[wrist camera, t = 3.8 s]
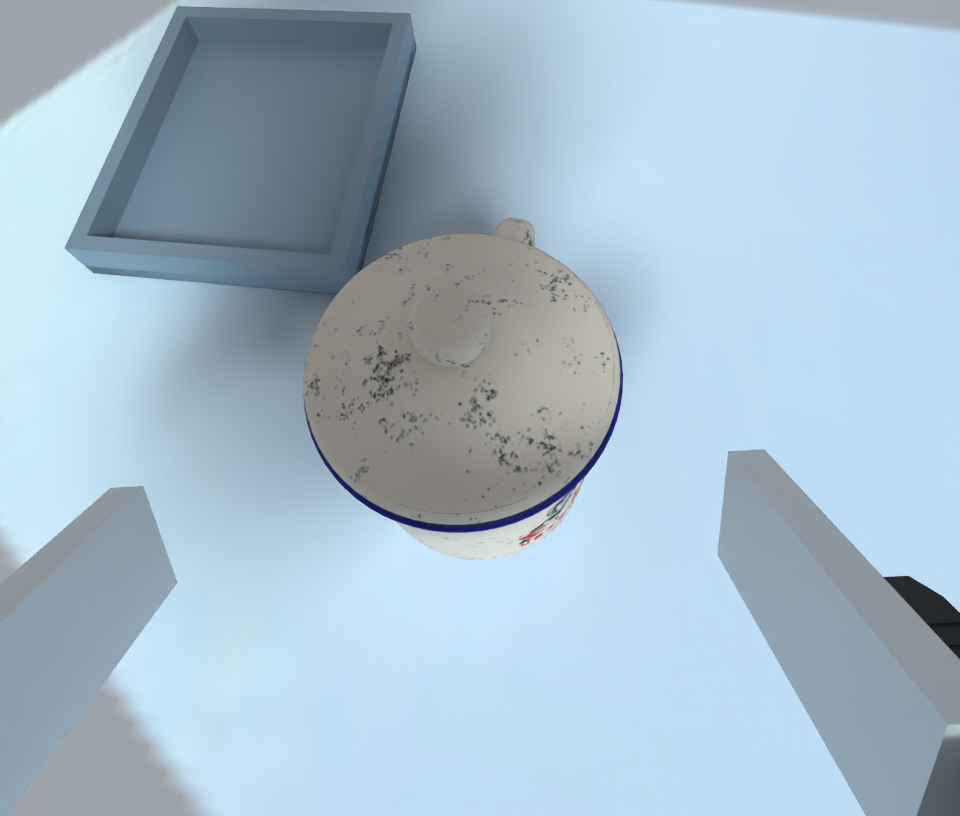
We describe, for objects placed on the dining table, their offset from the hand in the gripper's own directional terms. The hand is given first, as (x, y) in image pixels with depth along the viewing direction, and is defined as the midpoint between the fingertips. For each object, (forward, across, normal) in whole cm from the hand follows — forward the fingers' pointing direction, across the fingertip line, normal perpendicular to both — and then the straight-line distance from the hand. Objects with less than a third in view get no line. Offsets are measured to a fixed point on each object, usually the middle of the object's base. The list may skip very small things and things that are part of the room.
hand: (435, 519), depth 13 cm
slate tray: (+23, -10, +9) cm, 27 cm away
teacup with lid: (+12, +1, -3) cm, 12 cm away
